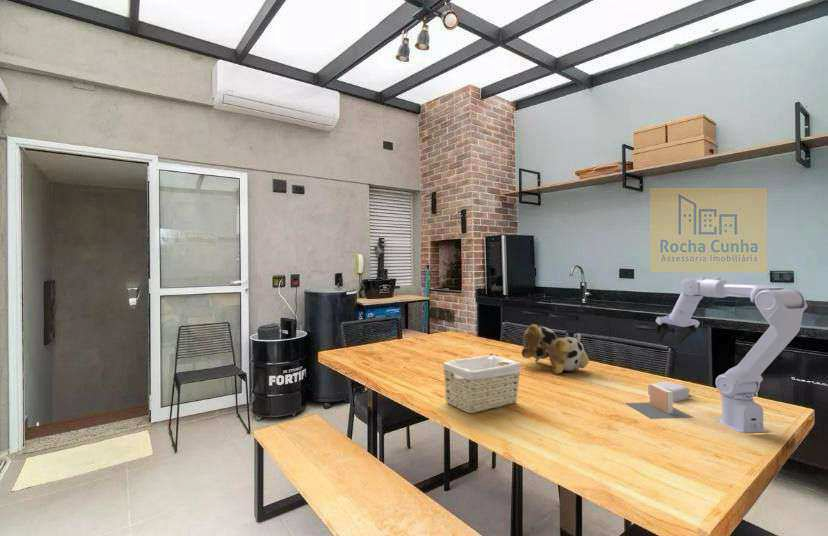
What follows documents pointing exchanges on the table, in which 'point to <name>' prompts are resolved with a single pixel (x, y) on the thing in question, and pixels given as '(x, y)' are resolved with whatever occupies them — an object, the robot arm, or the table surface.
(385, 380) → the table surface
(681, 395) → the charger
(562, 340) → the toy
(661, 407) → the tile
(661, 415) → the mat
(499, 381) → the object
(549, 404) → the table surface
